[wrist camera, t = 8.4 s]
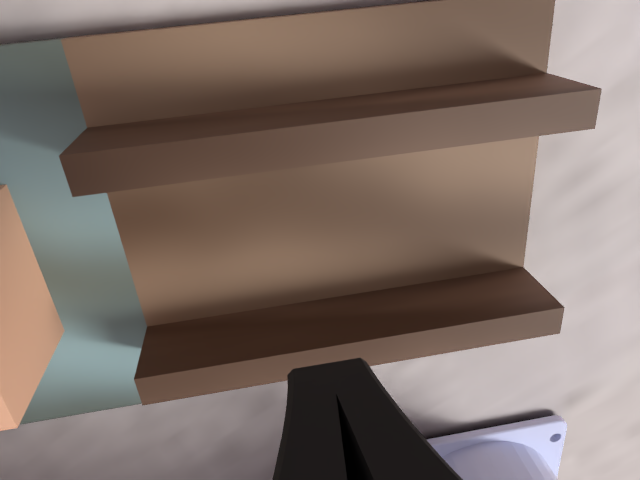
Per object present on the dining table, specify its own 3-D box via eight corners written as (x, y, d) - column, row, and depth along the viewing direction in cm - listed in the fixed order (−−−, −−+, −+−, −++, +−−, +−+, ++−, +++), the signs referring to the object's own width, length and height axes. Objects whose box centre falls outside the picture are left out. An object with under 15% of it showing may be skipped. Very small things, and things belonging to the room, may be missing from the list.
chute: (506, 329, 20) (551, 385, 17) (-122, 436, 18) (-187, 520, 15) (544, -12, 14) (618, -10, 12) (-367, 81, 12) (-545, 110, 9)
